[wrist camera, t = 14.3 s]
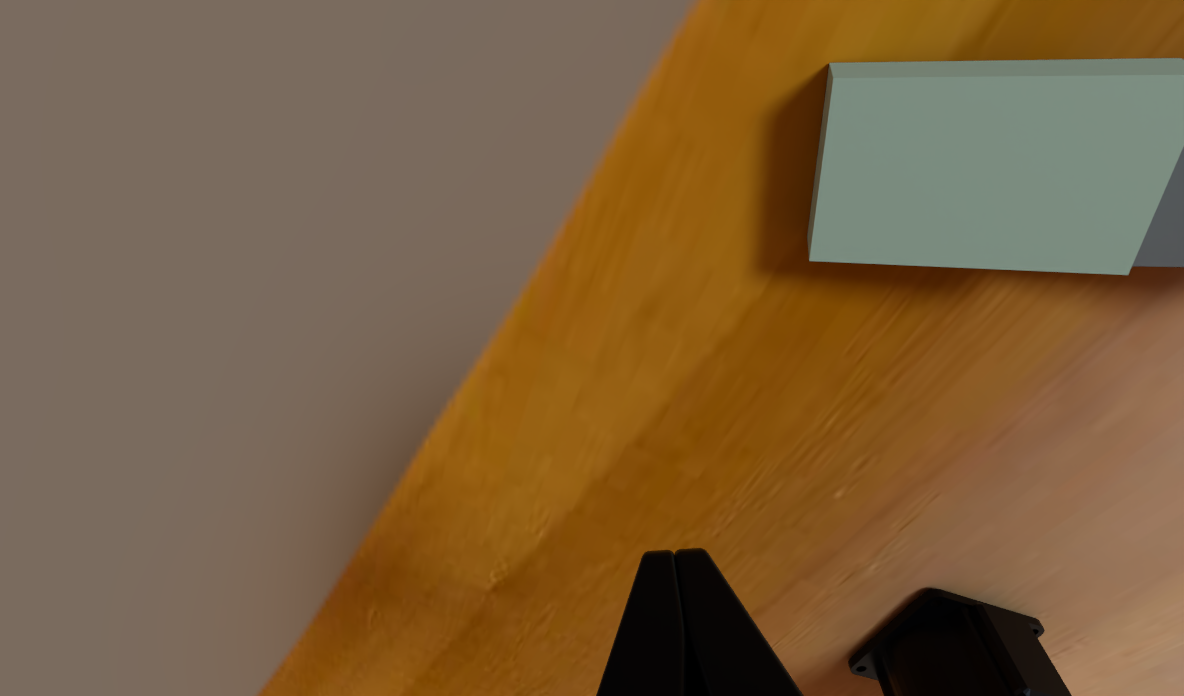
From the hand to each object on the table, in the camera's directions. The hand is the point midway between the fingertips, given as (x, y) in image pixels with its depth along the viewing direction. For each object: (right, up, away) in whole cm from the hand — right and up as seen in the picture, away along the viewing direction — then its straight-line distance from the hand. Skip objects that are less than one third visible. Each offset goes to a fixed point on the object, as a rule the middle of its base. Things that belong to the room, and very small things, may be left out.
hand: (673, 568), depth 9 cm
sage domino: (+5, +8, +9) cm, 13 cm away
